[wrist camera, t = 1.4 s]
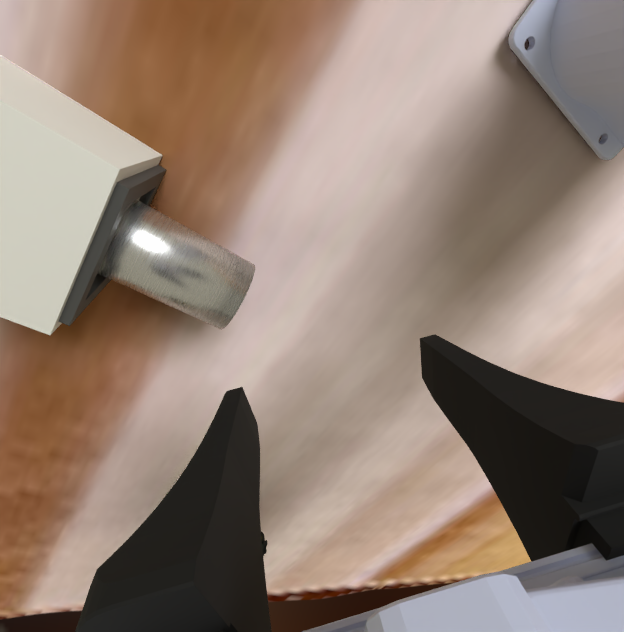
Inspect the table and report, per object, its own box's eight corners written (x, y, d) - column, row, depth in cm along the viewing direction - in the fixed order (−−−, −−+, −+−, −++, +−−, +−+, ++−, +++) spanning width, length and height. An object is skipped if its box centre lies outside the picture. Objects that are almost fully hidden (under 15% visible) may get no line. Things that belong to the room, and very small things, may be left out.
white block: (170, 160, 16) (132, 176, 11) (115, 277, 19) (61, 339, 13) (-30, 35, 13) (-222, -28, 8) (-67, 194, 16) (-236, 230, 10)
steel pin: (254, 254, 18) (255, 281, 15) (222, 307, 19) (217, 342, 16) (68, 149, 15) (19, 155, 12) (42, 221, 16) (-9, 244, 13)
